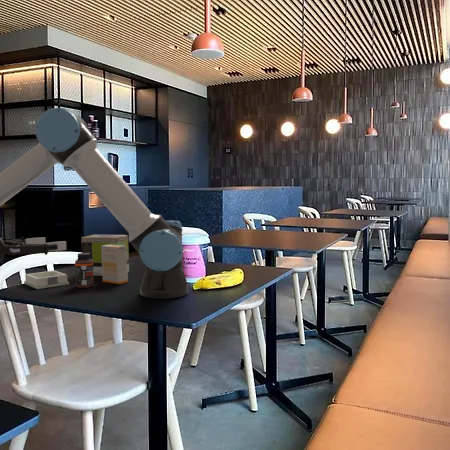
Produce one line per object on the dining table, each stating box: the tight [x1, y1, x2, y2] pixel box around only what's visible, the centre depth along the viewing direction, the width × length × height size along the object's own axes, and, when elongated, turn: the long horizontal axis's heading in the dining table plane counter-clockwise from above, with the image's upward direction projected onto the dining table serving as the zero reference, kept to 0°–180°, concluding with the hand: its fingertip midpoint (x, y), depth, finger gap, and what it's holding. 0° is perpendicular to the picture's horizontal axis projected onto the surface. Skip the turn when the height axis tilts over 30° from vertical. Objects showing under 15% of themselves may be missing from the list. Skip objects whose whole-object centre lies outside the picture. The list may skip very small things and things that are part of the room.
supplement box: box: [101, 244, 129, 285], centre depth 174 cm, size 8×5×13 cm, turn 56°
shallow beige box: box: [23, 270, 70, 290], centre depth 172 cm, size 12×11×3 cm
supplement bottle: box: [74, 252, 95, 289], centre depth 167 cm, size 6×6×11 cm
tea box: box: [80, 234, 130, 277], centre depth 189 cm, size 15×10×15 cm, turn 76°
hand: (55, 243), depth 159 cm, fingers open, 13 cm apart
